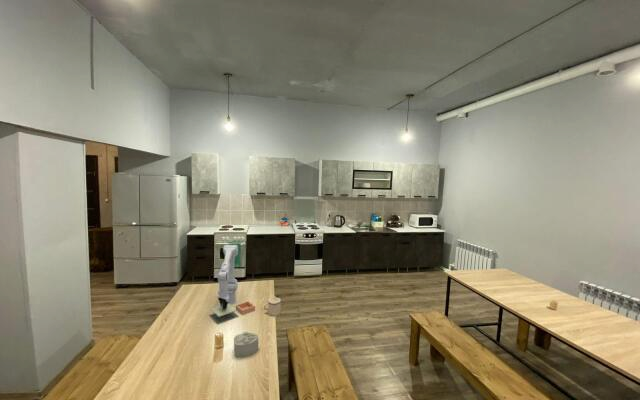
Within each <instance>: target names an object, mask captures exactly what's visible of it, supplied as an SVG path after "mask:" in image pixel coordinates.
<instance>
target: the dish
mask: <svg viewBox="0 0 640 400" xmlns="http://www.w3.org/2000/svg"><path fill="white" fill-rule="evenodd" d="M235 309H236V312H238V313H239V314H240V315H242V316H244V315H247V314H250V313H253V312H255V311H256V306H255V304H253V303H252V302H250V301H249V300H246V301H244V302H242V303H241V302H240V303H238V304H236V305H235Z"/></svg>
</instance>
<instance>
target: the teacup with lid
mask: <svg viewBox="0 0 640 400" xmlns="http://www.w3.org/2000/svg"><path fill="white" fill-rule="evenodd" d="M281 303H282V300H281V298H279V297H276V296H273V297H271V298H269V299H268V301H267V303H265V304H263V309H264V310H265V311H268V312H267V313H268V315H270V316H274V314H275V316H278V315H280V314H281V311H282V310H281V306H282V305H281ZM266 306H268V307H267V308H266Z"/></svg>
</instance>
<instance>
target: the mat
mask: <svg viewBox="0 0 640 400" xmlns="http://www.w3.org/2000/svg"><path fill="white" fill-rule="evenodd" d="M208 317H210V319H211V320H212V321H213V322H214V323H215V324H216V325H221V324H223V323H225V322H229V321H231V320H234V319H236V318H240V316H239V315H238V314H237V313H235V311H234V312H231V313H228V314H226V315H223V316H220V317H218V316H217V315H216V314H215V313H214V312H213V313H211V314H208Z"/></svg>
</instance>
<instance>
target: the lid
mask: <svg viewBox="0 0 640 400" xmlns="http://www.w3.org/2000/svg"><path fill="white" fill-rule="evenodd" d="M211 311H212V312H213V314H214V313H215V314H216V315H217V316H218V317H220V316H223V315H226V314H228V313H231V312H234V313H235V312H237V310H236V308H234V307H233V306H232V304H231V305H230V304H228V305H227V308H226V309H223V305H222V307H221V305H220V306H216V307H214V308H211Z"/></svg>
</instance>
